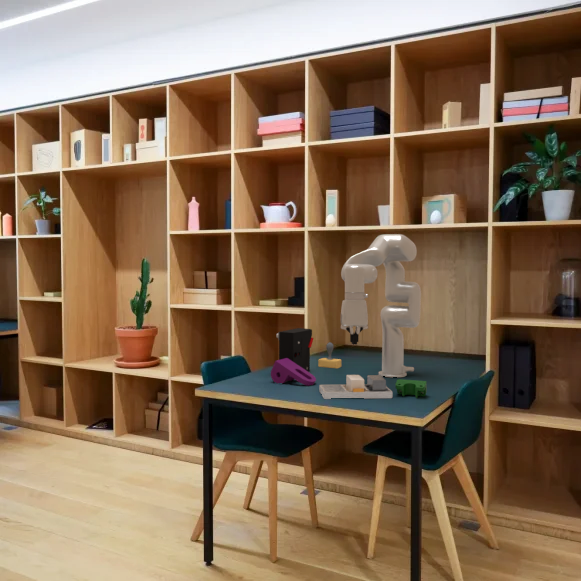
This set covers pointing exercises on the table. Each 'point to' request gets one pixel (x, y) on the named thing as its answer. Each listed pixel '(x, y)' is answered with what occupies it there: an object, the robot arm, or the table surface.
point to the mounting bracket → (290, 372)
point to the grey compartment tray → (358, 389)
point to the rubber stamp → (329, 359)
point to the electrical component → (296, 346)
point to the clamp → (411, 387)
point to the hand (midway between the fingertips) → (354, 344)
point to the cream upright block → (354, 382)
